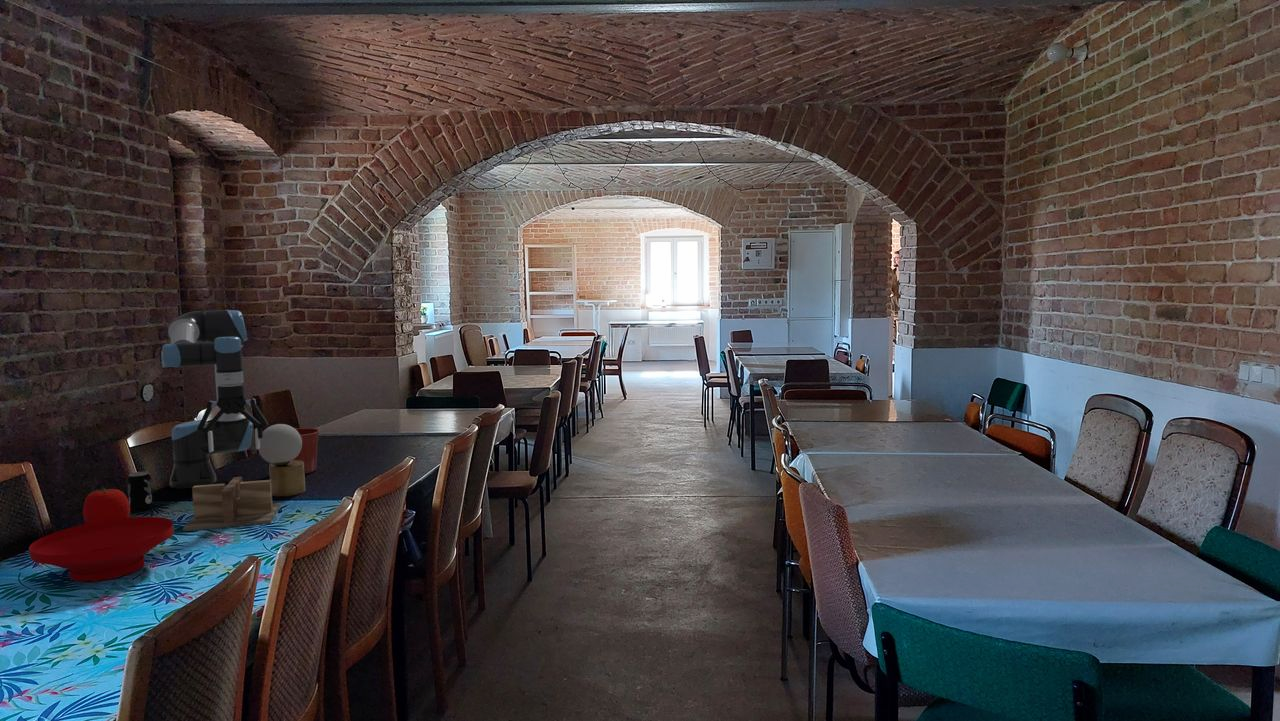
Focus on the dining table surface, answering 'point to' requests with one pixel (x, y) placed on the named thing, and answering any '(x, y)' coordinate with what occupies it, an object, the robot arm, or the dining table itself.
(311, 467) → the flower pot
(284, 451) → the lamp
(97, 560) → the bowl
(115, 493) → the tomato
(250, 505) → the wooden joinery piece
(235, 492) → the walnut plate
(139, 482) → the beverage can
